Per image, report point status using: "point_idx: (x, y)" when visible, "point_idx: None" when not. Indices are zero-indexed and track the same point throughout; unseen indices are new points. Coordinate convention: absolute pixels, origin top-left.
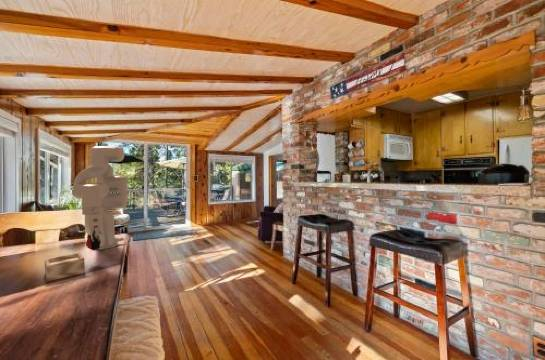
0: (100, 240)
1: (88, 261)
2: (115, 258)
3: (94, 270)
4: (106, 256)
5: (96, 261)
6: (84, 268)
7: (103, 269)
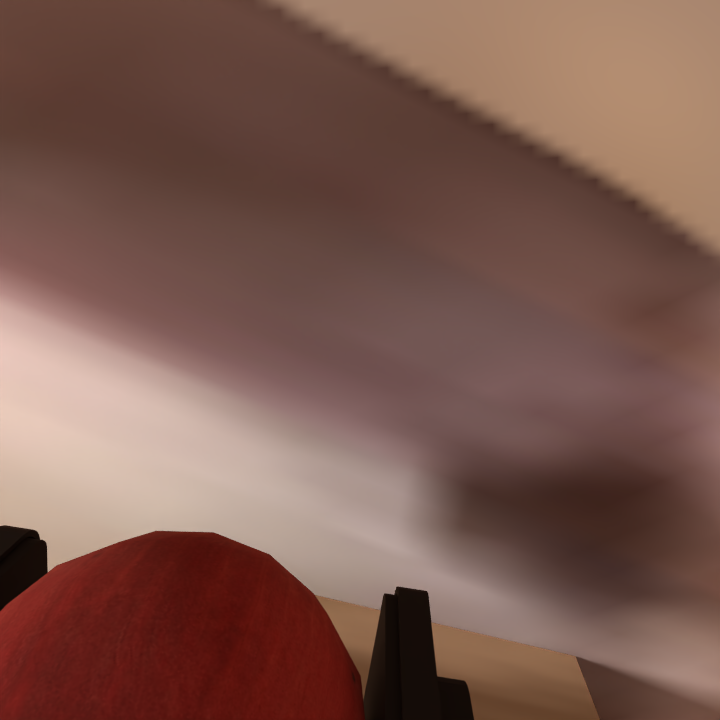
0: (235, 659)
1: (125, 446)
2: (339, 149)
3: (624, 576)
4: (75, 180)
5: (228, 390)
6: (592, 702)
7: (711, 506)
